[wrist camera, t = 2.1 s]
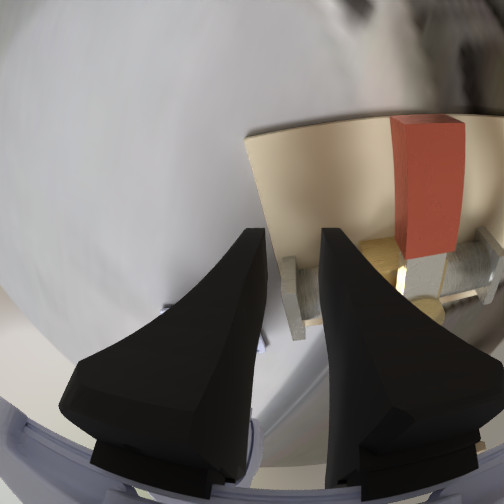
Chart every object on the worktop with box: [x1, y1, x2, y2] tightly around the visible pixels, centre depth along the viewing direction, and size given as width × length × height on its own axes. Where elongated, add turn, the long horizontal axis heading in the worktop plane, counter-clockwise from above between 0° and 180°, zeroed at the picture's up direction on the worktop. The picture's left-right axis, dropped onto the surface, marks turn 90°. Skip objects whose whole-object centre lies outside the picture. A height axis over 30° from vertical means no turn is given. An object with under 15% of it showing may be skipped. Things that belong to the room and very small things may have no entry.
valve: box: [281, 226, 504, 341], centre depth 20 cm, size 18×6×4 cm, turn 105°
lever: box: [389, 114, 465, 325], centre depth 14 cm, size 15×4×2 cm, turn 15°
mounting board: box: [244, 114, 504, 326], centre depth 20 cm, size 22×18×1 cm
